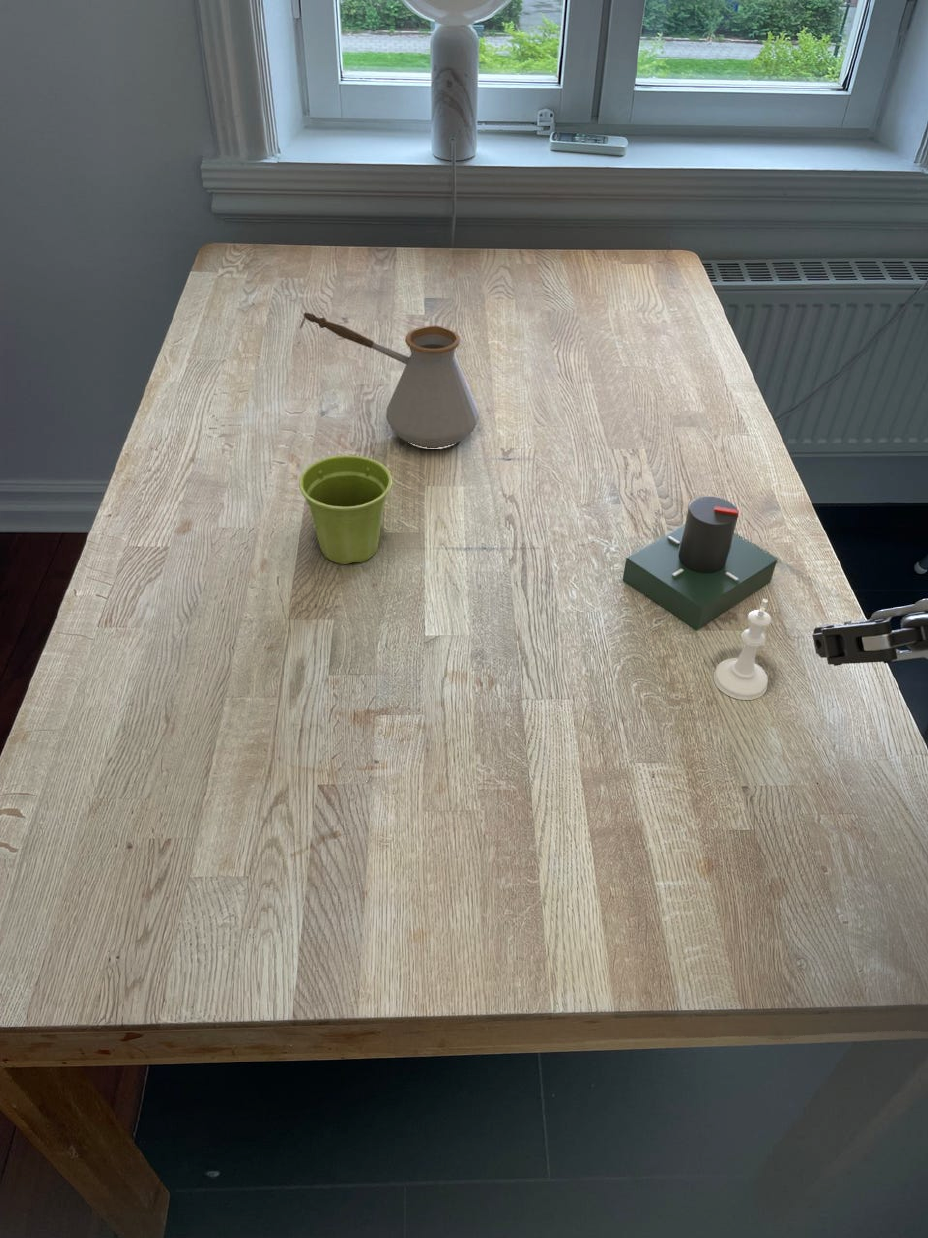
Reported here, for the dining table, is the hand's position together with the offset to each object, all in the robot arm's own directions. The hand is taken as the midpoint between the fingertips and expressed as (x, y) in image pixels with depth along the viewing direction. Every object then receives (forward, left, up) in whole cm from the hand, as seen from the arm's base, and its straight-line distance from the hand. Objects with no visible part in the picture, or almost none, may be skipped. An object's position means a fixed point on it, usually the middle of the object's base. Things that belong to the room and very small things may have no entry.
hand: (869, 631), depth 71 cm
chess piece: (-4, -11, -17) cm, 20 cm away
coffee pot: (-6, -66, -17) cm, 68 cm away
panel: (-13, -23, -17) cm, 31 cm away
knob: (-13, -23, -14) cm, 29 cm away
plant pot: (+12, -50, -17) cm, 54 cm away
